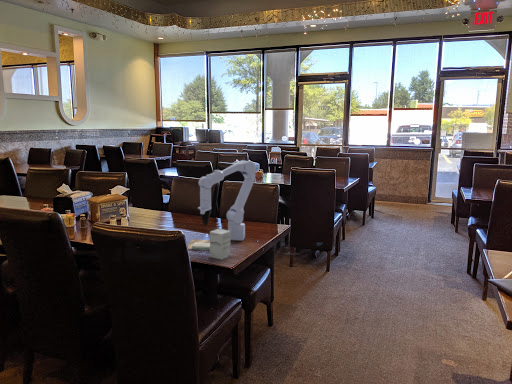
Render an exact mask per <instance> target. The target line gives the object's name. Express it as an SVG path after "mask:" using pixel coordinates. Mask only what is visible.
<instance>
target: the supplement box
mask: <svg viewBox="0 0 512 384" xmlns="http://www.w3.org/2000/svg"><path fill="white" fill-rule="evenodd" d="M230 238H231V231H228V229H224V228H223V229H222V228H216V229H213V230H210V231H209V240H210V251H209V258H214V259H218V260H224V259H227V258H228V257H230V256H231V240H230Z"/></svg>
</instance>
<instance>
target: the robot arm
mask: <svg viewBox="0 0 512 384" xmlns="http://www.w3.org/2000/svg"><path fill="white" fill-rule="evenodd" d="M256 170H257V167H256V165H255V163H254V162H253V161H251V160H249V161H248V160H245V159H242V160H239V161H237V162H235V163H234V164H231V165H230V166H228V167H226V168H225V169H223V170H220V169H215V170H213V171H214V172H211V173H209V174H206V175H205V176H204V175H203V176H201V177H200V178H199V179H198V182H197V183H198V186H199V200H200V201H199V202H200V203H199V206H198V207H197V210H199V215H200V217H201V219H202V223H203V225H204V226H207V225H208V224H209V220H210V217H211V214H212V187H213V185H215V184H218V183H219V182H221V181H223V180H224V178H225V177H227V176H228V175H231V174H233V173H235V172H240V173H241V174H242V176H243V178H244V180H243V181H242V185H241V186H240V190H239V192H238V193H237V194H238V195H237V196H236V199H235V202H234V204H233V205H231V206H230V208H229V210H227V212H226V214H225V217H226V220H228V221H227V230H228V231H231V238H230V241H240V242H241V241H244V240H245V238H246V224H245V223H244V222H243V221H244V214H245V210H244V207H245V204H246V202H247V200H248V197H249V195H250V193H251V190H252V188H253V186H254V182H255V180H256Z"/></svg>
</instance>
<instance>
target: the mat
mask: <svg viewBox="0 0 512 384" xmlns="http://www.w3.org/2000/svg"><path fill="white" fill-rule="evenodd" d="M195 242H197V243H210V239H192V240H191V241H190V242H188V244H187V245H188V249H187V250H190V249H192V245H193V244H194V243H195ZM193 251H209V252H210V250H207V249H194V250H193Z"/></svg>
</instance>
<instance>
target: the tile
mask: <svg viewBox="0 0 512 384" xmlns="http://www.w3.org/2000/svg"><path fill="white" fill-rule="evenodd" d="M192 249H207V250H206V251H209V250H210V243H197V242H195V243H194V244H193V245H192Z"/></svg>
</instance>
